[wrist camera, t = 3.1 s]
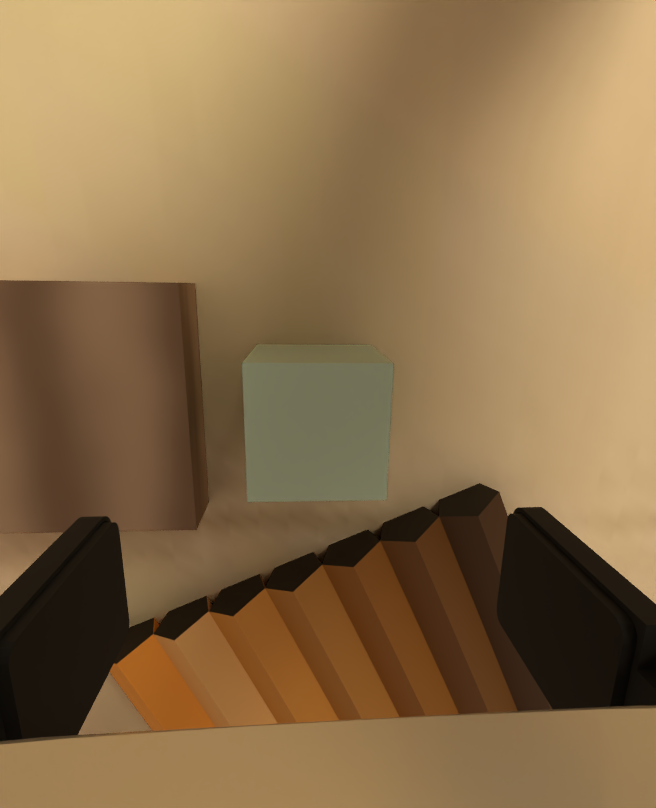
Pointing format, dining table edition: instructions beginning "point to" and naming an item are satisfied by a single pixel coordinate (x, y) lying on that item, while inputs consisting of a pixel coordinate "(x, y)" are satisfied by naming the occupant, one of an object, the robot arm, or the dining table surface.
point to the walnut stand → (100, 406)
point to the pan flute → (344, 633)
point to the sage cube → (317, 422)
